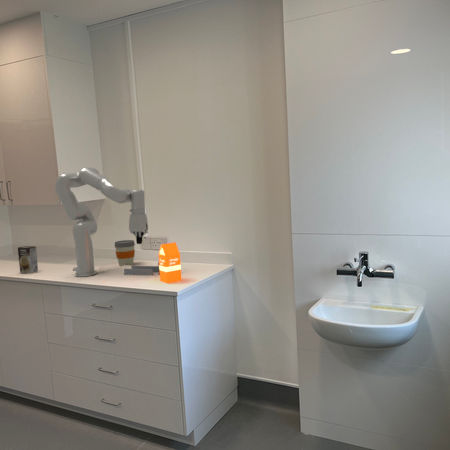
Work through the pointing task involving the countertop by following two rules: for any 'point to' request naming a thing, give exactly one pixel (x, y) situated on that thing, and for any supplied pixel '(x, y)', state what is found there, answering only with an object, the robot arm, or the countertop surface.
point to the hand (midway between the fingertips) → (139, 243)
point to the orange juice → (169, 263)
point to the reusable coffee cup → (125, 252)
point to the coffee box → (28, 259)
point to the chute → (141, 270)
